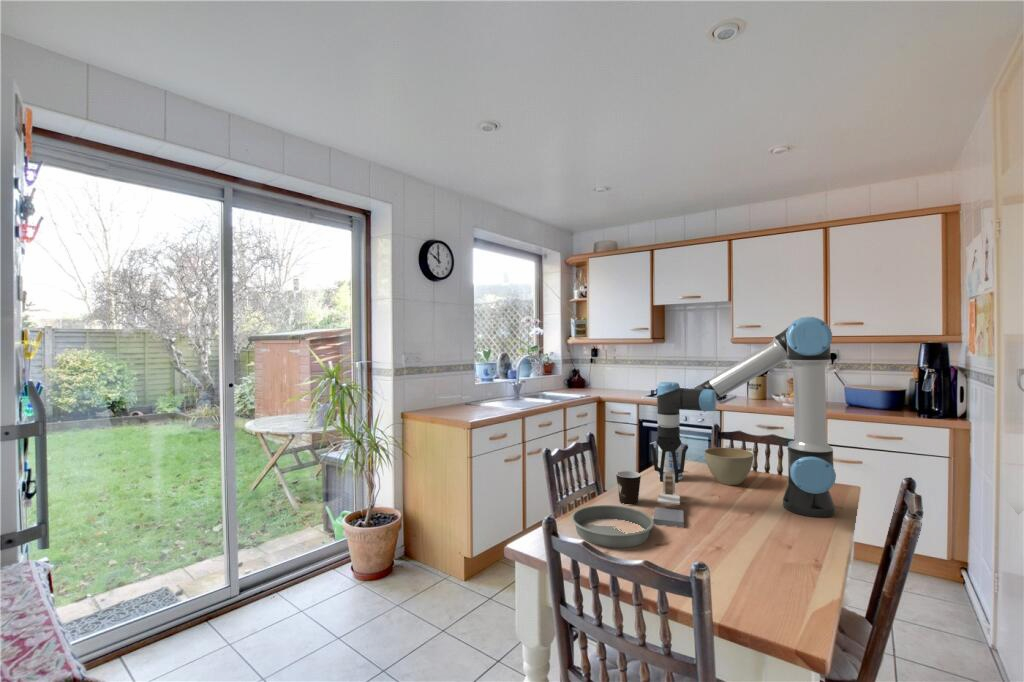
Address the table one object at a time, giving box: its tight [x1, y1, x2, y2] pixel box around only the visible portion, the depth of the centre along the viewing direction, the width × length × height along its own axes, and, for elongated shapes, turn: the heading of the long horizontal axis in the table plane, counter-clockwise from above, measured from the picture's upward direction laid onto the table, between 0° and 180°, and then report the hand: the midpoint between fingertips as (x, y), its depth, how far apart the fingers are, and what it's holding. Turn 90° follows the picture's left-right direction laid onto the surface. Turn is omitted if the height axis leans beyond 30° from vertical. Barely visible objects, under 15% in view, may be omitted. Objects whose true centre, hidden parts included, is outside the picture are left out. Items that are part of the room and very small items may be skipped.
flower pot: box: [704, 447, 754, 486], centre depth 193 cm, size 18×18×12 cm
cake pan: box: [570, 504, 655, 548], centre depth 146 cm, size 25×25×4 cm
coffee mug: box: [615, 470, 642, 505], centre depth 173 cm, size 12×9×10 cm
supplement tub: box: [657, 445, 683, 481], centre depth 200 cm, size 10×10×15 cm
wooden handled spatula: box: [657, 472, 681, 506], centre depth 169 cm, size 20×7×5 cm, turn 161°
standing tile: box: [652, 506, 685, 528], centre depth 155 cm, size 2×9×11 cm
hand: (669, 491), depth 171 cm, fingers closed on wooden handled spatula, 2 cm apart
